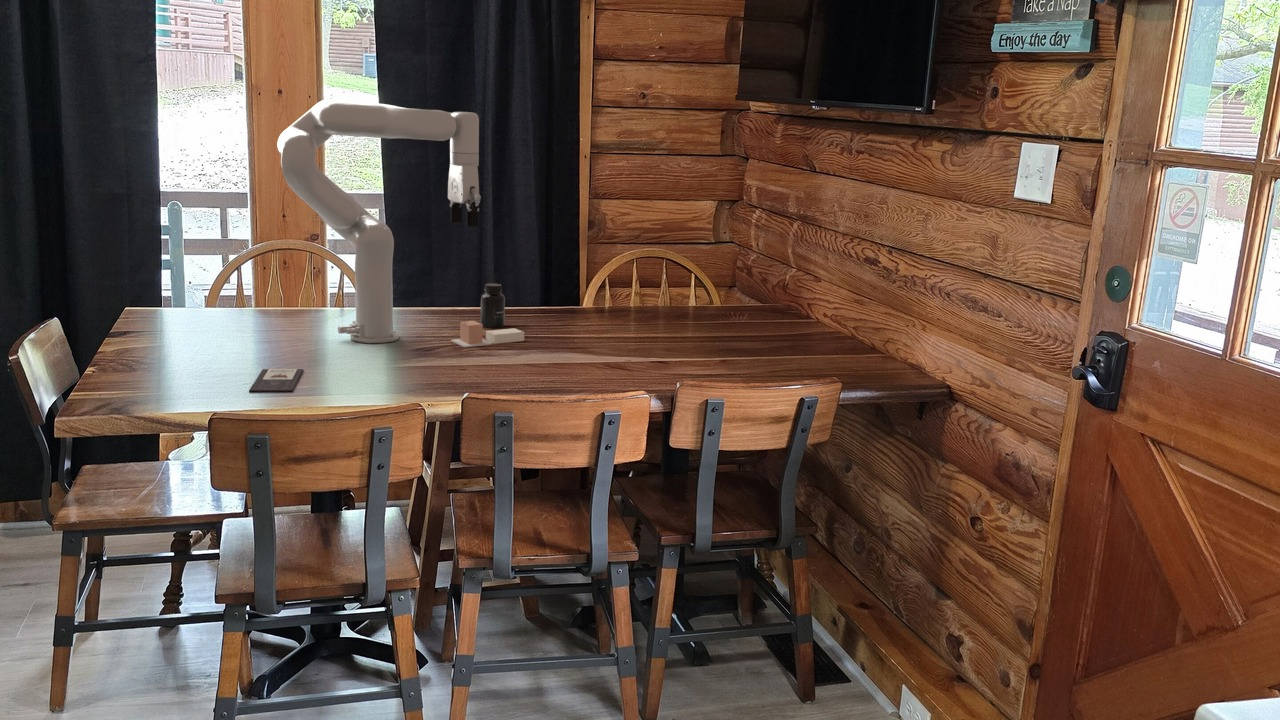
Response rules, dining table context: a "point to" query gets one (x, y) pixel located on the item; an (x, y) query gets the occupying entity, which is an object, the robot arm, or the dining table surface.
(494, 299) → the supplement bottle
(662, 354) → the dining table surface
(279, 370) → the chocolate bar
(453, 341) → the mat
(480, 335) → the tan wooden block
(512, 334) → the cream rectangular block
